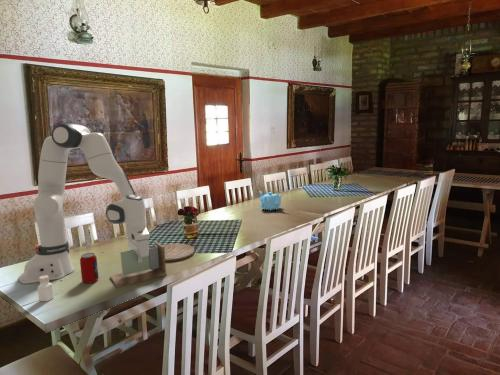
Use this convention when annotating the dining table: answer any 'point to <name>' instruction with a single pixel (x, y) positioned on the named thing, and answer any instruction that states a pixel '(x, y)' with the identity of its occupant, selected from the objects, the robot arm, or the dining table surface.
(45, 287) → the pepper shaker
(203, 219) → the dining table surface
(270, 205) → the teapot
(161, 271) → the cabinet base
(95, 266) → the beverage can
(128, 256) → the pale green grey block
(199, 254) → the dining table surface
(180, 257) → the trivet
